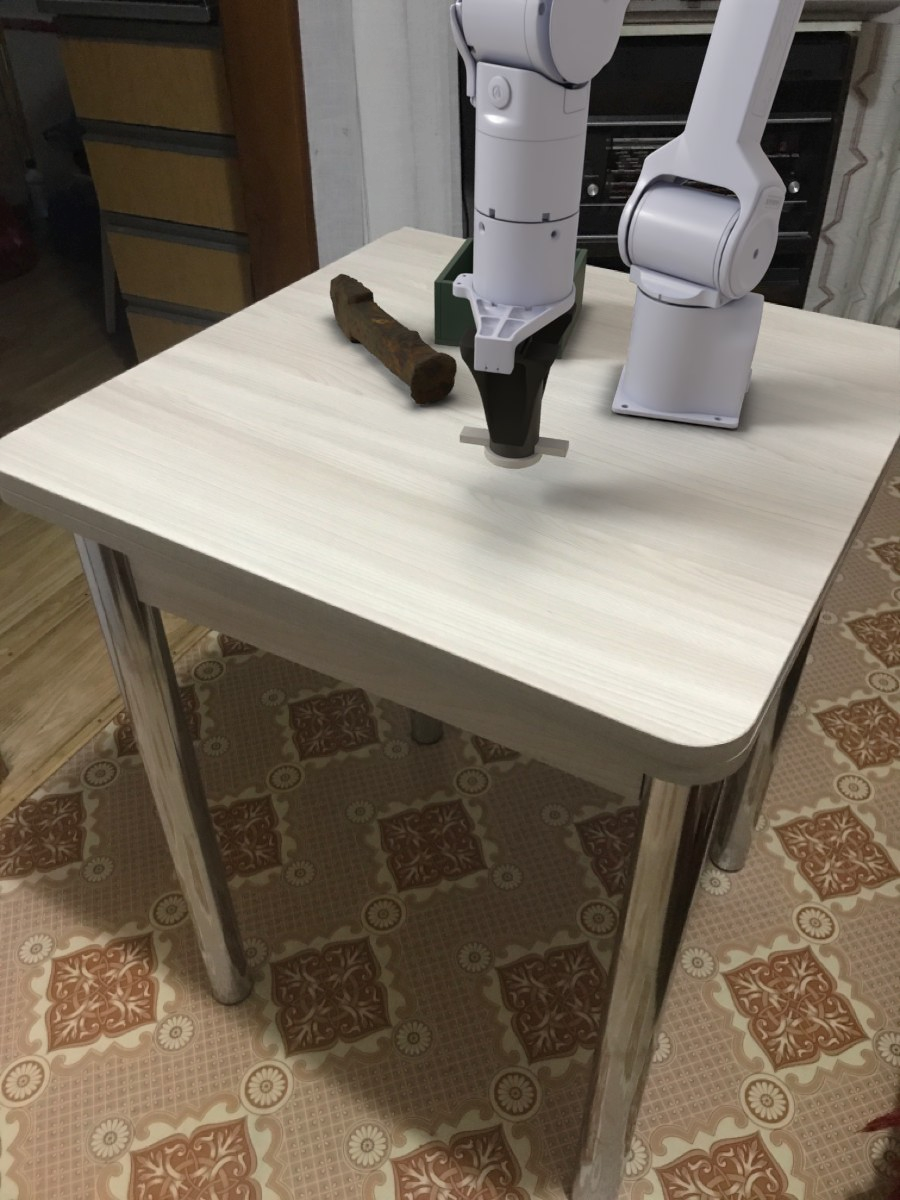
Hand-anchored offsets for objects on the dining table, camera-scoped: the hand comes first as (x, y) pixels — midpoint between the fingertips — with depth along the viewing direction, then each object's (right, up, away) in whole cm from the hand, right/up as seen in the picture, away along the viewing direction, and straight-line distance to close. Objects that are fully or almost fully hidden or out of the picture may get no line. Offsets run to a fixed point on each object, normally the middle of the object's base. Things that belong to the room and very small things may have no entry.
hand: (514, 427), depth 58 cm
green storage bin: (+1, +14, +24) cm, 28 cm away
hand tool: (-10, +9, +19) cm, 24 cm away
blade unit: (0, -1, +1) cm, 2 cm away
